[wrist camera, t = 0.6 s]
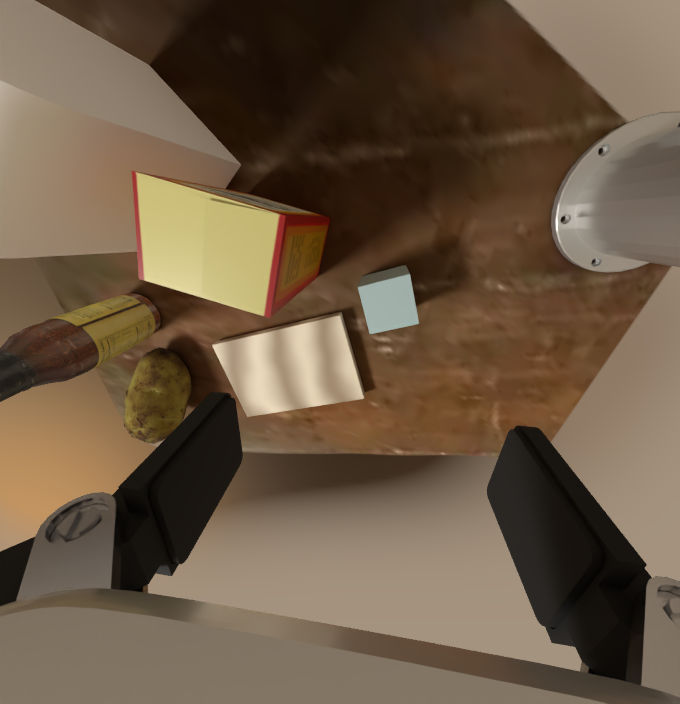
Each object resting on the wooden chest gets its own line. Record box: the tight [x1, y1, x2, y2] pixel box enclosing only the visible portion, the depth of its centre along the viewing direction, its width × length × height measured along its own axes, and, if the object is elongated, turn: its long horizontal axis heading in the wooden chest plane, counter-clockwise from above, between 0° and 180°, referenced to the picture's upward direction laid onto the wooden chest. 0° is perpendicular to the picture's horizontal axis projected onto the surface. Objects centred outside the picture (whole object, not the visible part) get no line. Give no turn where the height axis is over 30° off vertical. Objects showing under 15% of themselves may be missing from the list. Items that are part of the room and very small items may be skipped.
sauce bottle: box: [0, 293, 161, 402], centre depth 30 cm, size 7×6×20 cm
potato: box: [124, 348, 191, 443], centre depth 40 cm, size 8×13×8 cm, turn 150°
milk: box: [0, 0, 241, 258], centre depth 19 cm, size 12×12×26 cm
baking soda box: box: [132, 171, 331, 318], centre depth 25 cm, size 10×6×16 cm
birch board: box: [212, 312, 365, 417], centre depth 38 cm, size 18×12×2 cm, turn 106°
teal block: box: [358, 265, 419, 334], centre depth 30 cm, size 5×5×6 cm
